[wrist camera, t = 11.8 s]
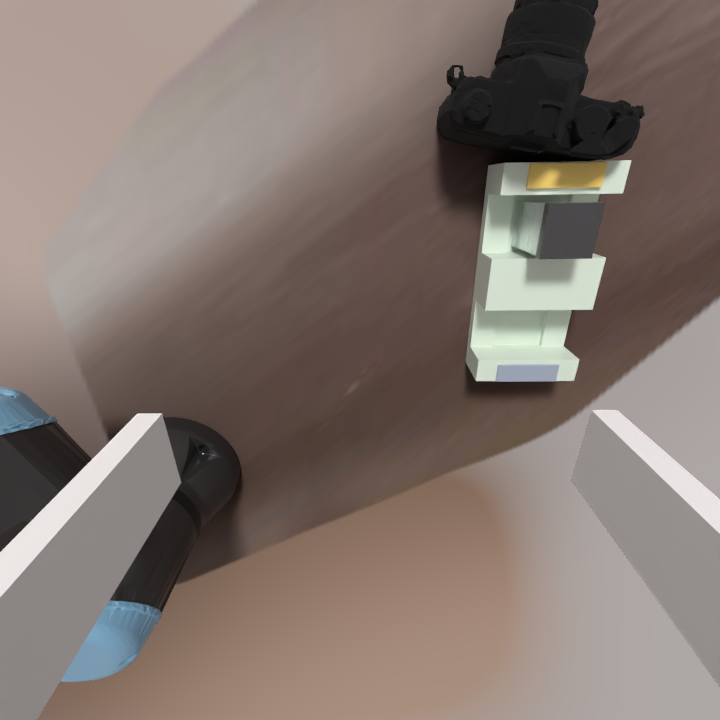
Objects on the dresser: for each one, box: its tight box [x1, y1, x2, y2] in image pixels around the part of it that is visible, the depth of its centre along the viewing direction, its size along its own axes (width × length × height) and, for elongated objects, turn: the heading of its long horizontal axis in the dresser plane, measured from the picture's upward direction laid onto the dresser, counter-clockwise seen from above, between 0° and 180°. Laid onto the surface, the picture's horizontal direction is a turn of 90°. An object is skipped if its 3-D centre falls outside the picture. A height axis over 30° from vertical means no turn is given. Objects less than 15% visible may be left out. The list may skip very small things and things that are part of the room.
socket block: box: [466, 160, 631, 382], centre depth 36 cm, size 10×20×5 cm, turn 1°
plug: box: [511, 200, 605, 259], centre depth 32 cm, size 4×4×7 cm
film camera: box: [437, 0, 644, 162], centre depth 28 cm, size 15×10×9 cm, turn 80°
